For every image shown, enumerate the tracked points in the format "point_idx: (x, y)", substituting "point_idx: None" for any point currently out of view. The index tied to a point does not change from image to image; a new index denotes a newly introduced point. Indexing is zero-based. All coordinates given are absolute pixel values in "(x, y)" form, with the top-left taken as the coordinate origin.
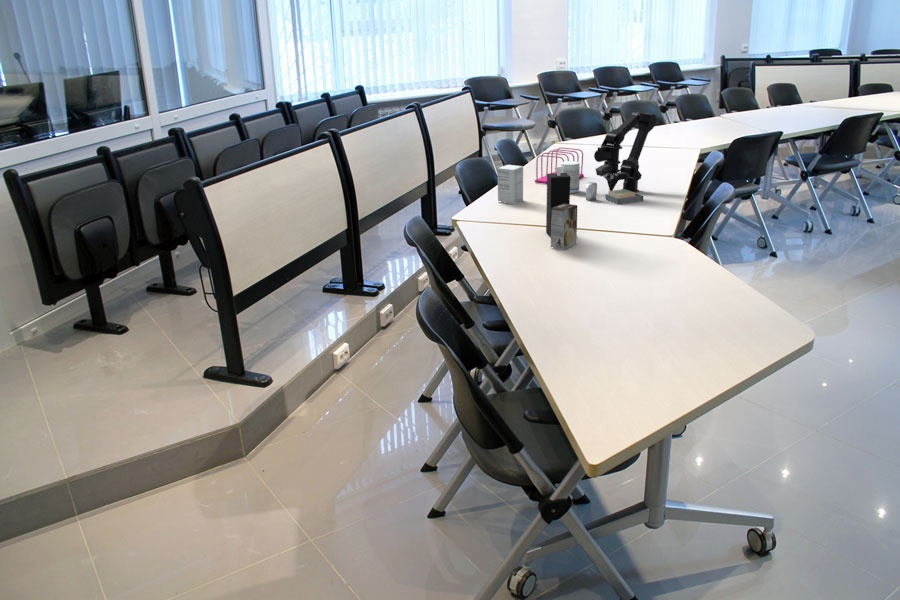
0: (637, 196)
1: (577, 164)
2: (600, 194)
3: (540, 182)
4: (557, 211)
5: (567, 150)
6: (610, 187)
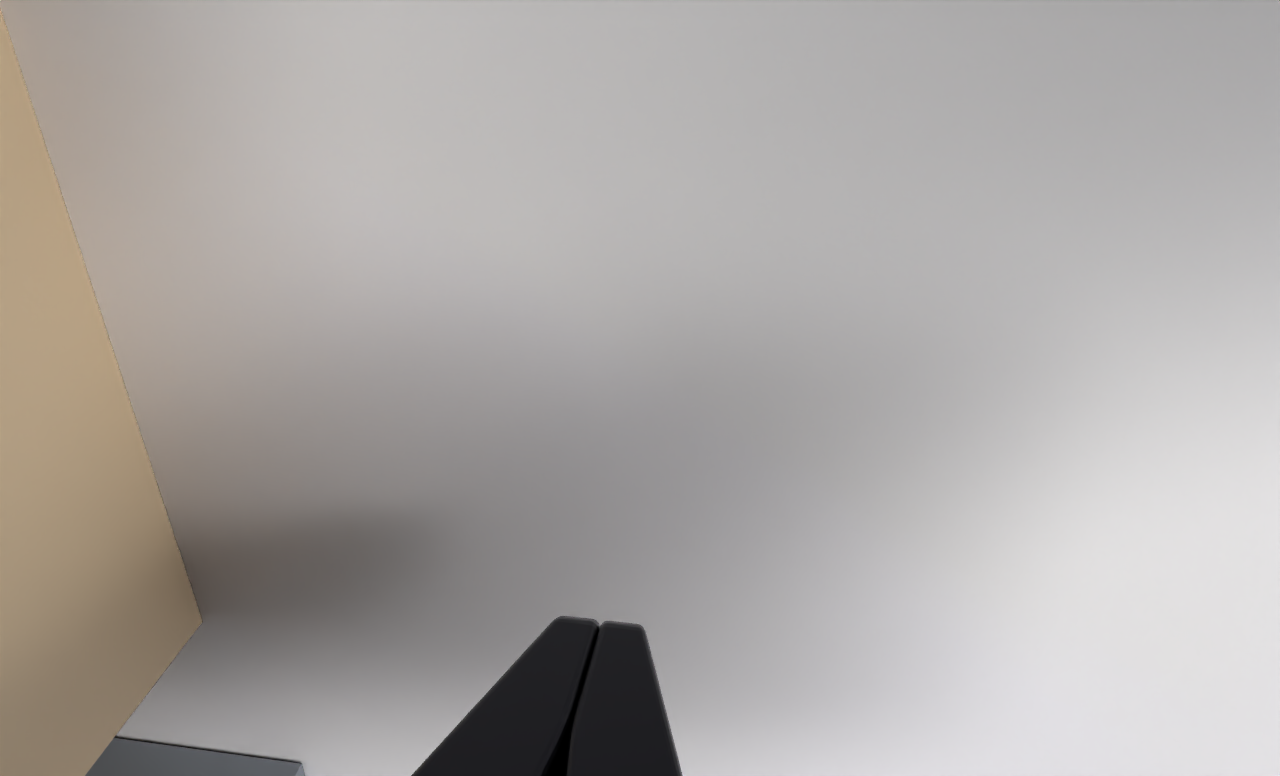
0: None
1: None
2: (1125, 306)
3: None
4: None
5: None
6: (475, 753)
